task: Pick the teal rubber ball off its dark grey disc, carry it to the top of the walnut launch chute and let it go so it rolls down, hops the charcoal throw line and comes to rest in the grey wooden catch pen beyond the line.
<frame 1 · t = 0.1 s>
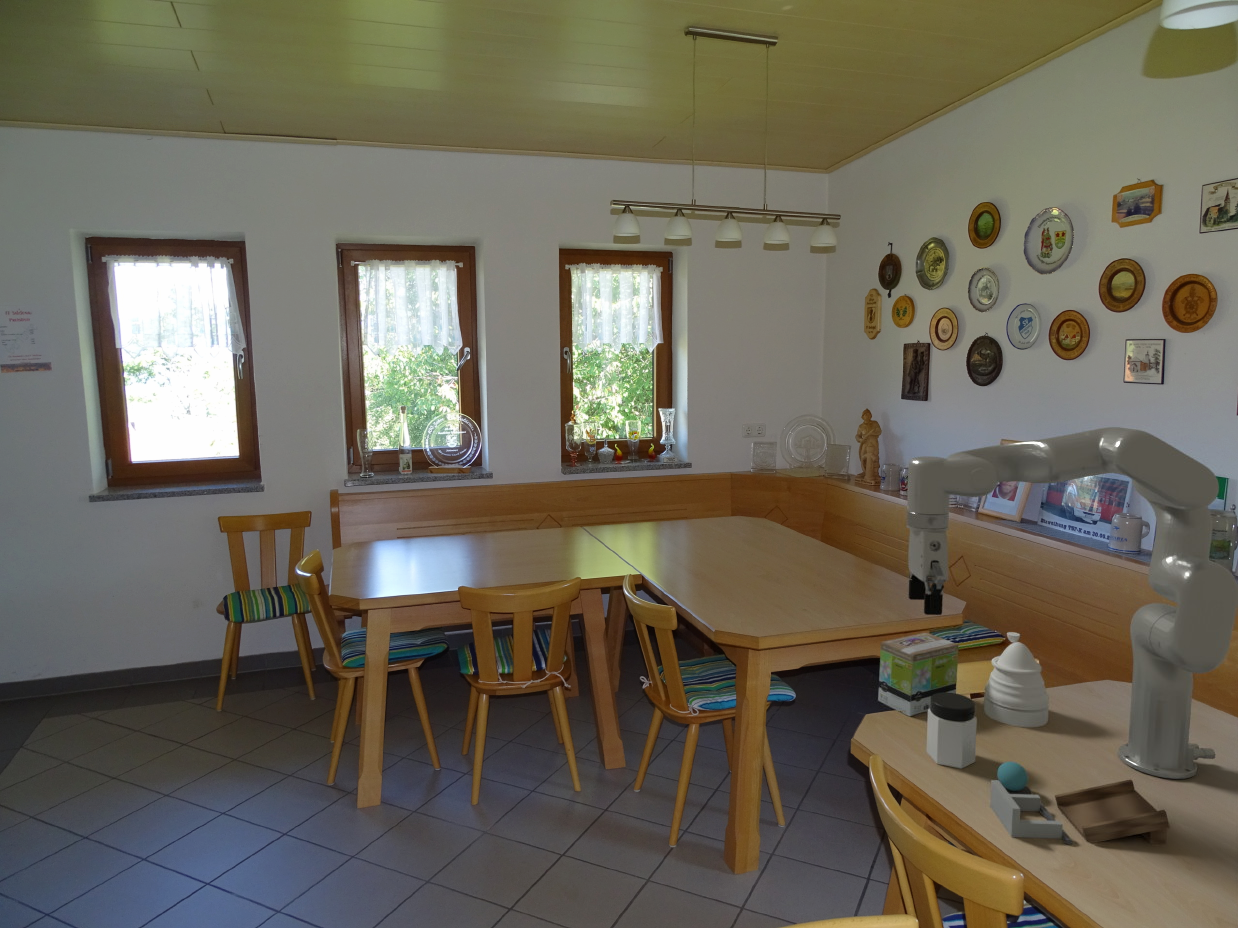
hand: (924, 606, 151), 31 cm above the table, fingers open, 9 cm apart
catch pen: (1027, 821, 132), on the table
ramp: (1110, 824, 130), on the table
ball: (1012, 775, 141), point 3 cm above the table, touching dark grey disc
honey pot: (1015, 715, 173), on the table
jar: (950, 758, 154), on the table
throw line: (1051, 822, 131), on the table
tea box: (917, 703, 180), on the table
dark grey disc: (1011, 790, 141), on the table
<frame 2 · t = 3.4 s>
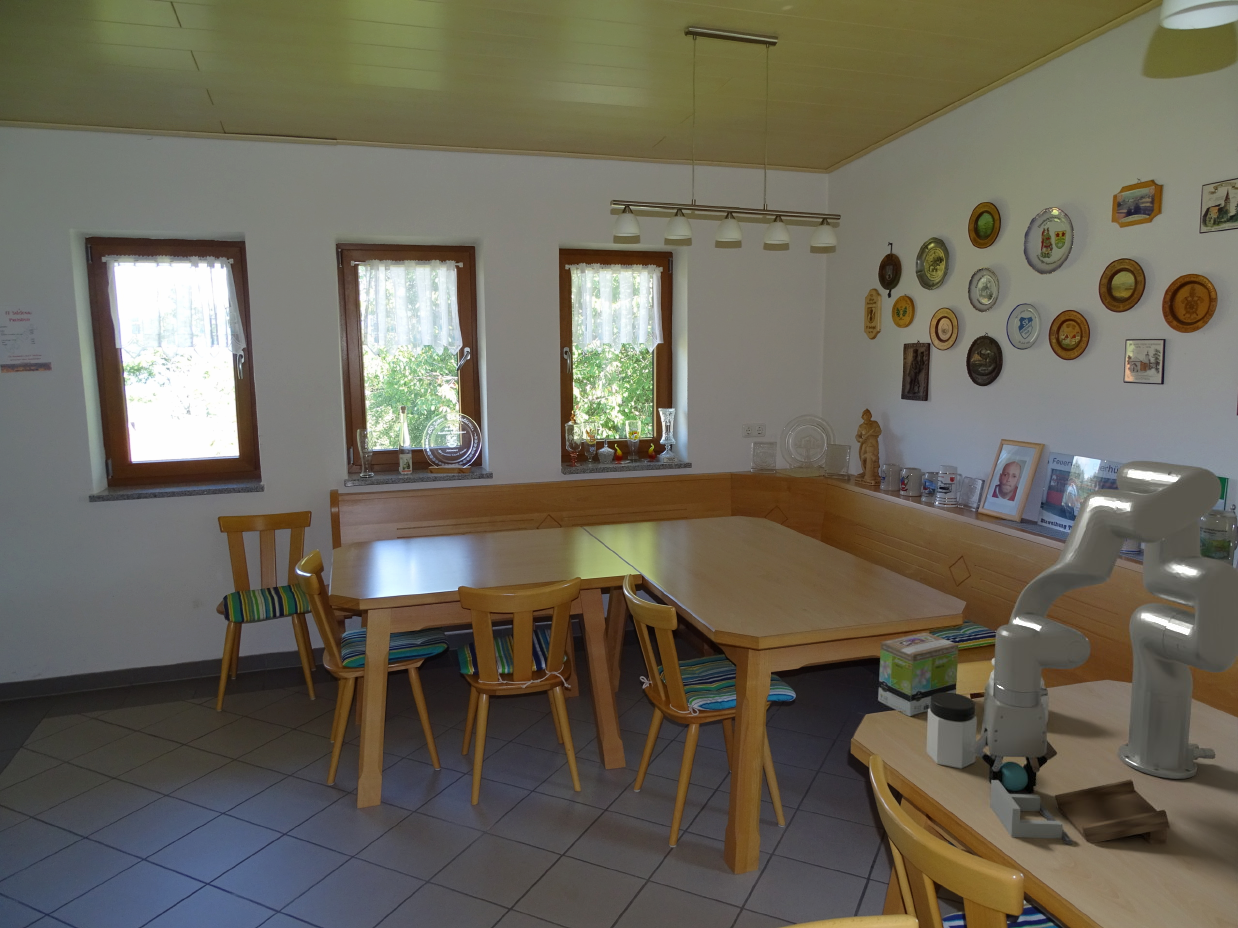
hand: (1012, 787, 141), 1 cm above the table, fingers closed on ball, 4 cm apart
ball: (1012, 775, 141), point 3 cm above the table, touching gripper, dark grey disc
everything else where it was.
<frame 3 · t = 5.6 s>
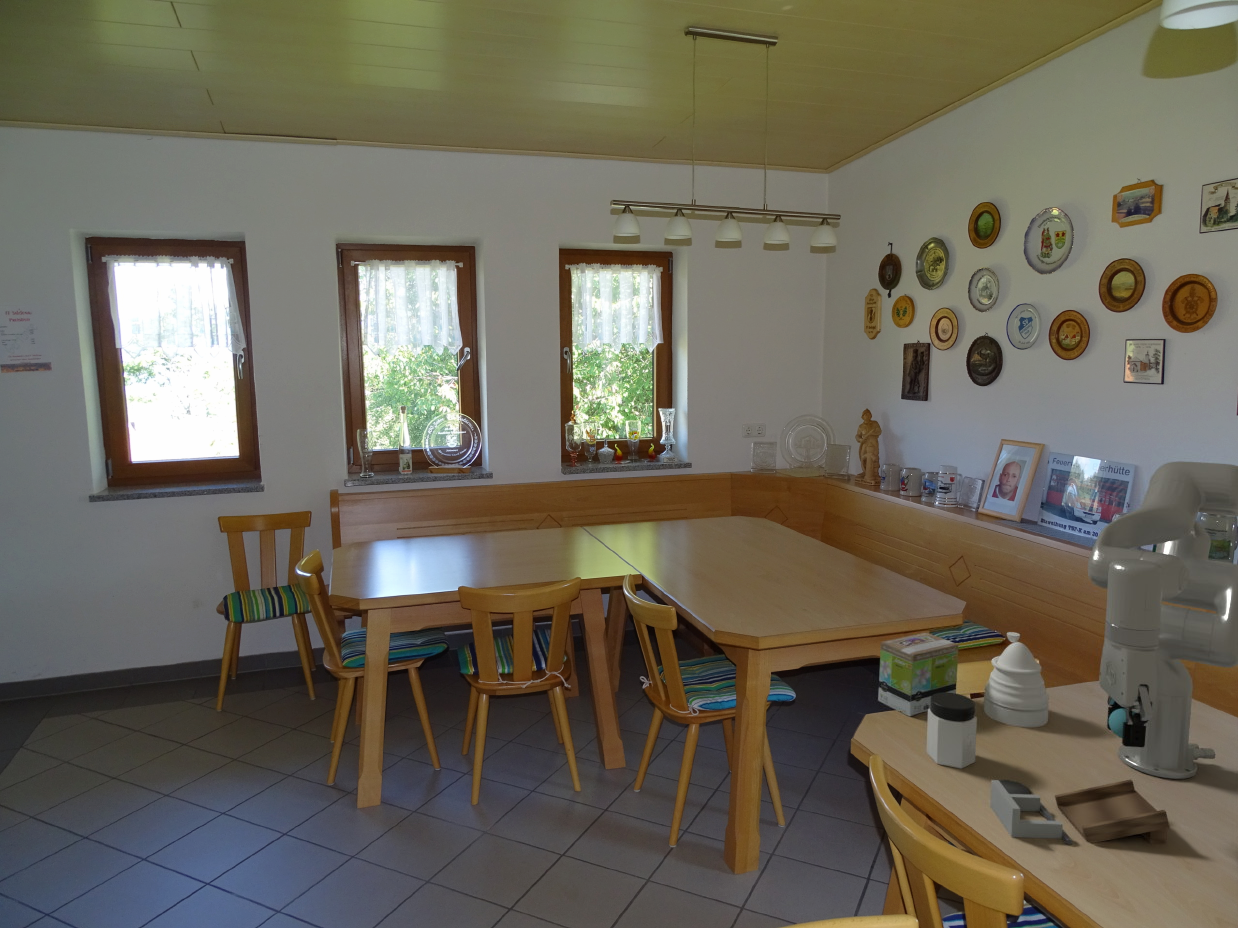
hand: (1125, 736, 130), 15 cm above the table, fingers closed on ball, 4 cm apart
ball: (1126, 723, 130), point 17 cm above the table, touching gripper
everything else where it was.
when the fingers open (5 cm above the table, at t = 7.7 s): ball drops 5 cm and tips over, point 2 cm above the table.
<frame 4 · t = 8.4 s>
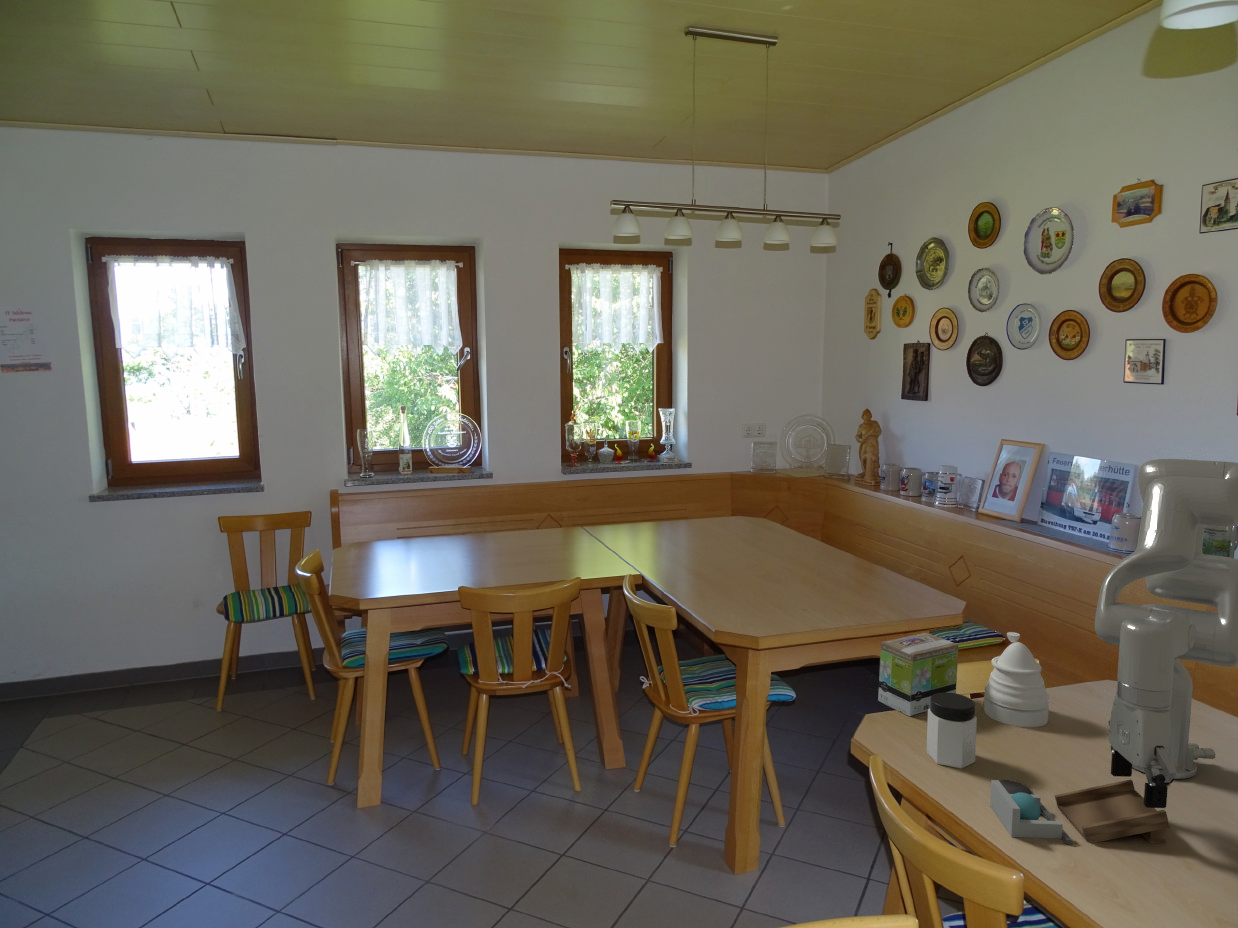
hand: (1137, 790, 129), 6 cm above the table, fingers open, 9 cm apart
ball: (1023, 808, 131), point 2 cm above the table, tilted 92°
everything else where it was.
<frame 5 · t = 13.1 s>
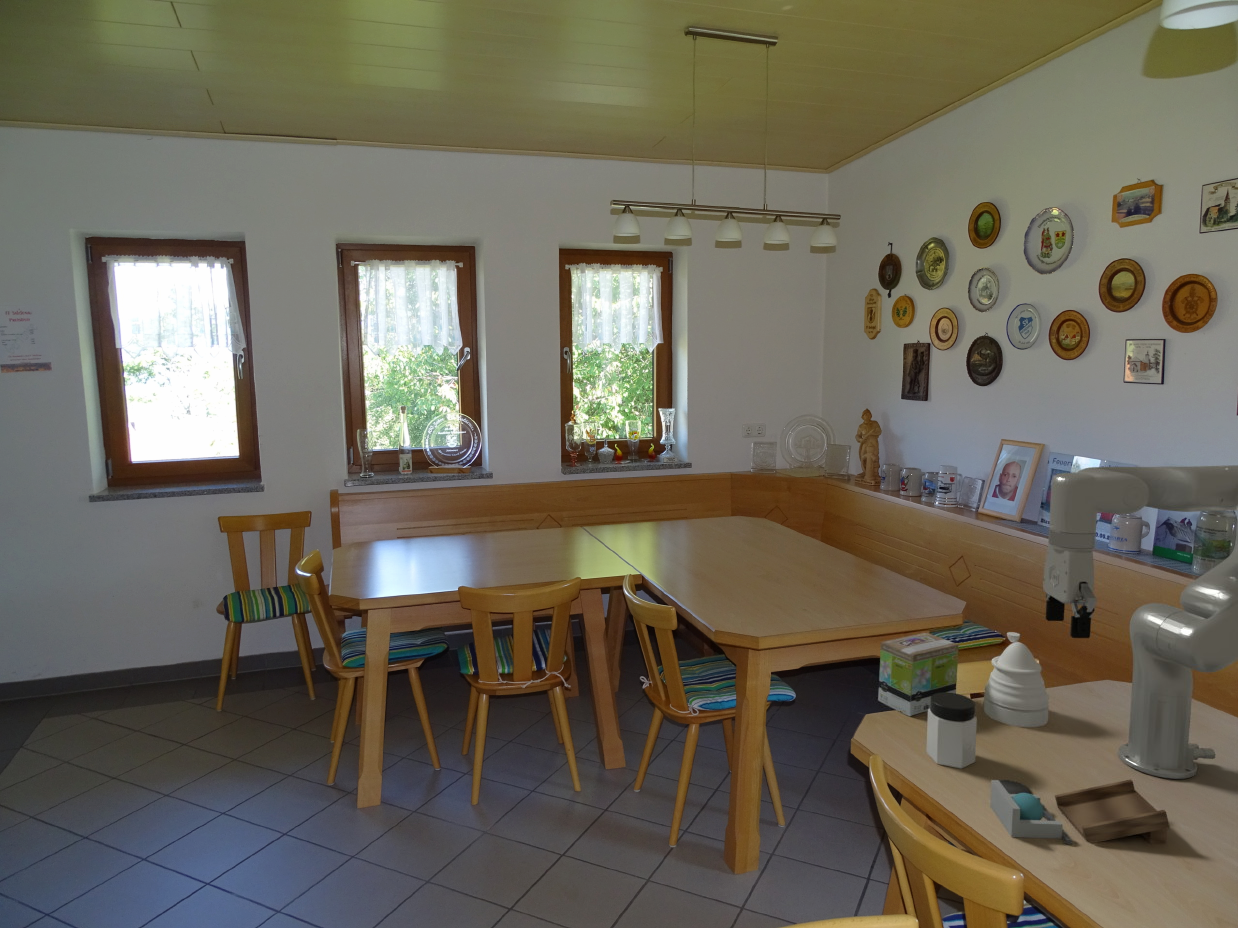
hand: (1066, 628, 145), 28 cm above the table, fingers open, 9 cm apart
ball: (1026, 808, 131), point 2 cm above the table, tilted 83°
everything else where it was.
at the end: ball inside the target area (0.8 cm from its centre), point 2.5 cm above the table; the gripper is holding nothing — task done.
